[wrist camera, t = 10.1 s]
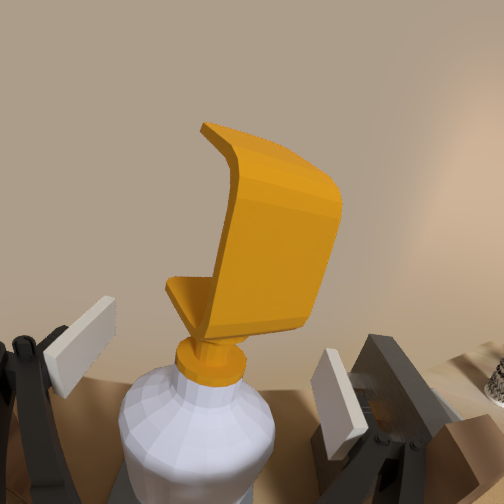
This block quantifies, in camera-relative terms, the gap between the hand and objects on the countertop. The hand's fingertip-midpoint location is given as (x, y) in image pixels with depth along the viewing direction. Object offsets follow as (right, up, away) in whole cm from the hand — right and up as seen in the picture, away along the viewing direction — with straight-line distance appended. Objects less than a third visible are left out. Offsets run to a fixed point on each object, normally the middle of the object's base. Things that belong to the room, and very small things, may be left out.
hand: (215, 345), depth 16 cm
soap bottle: (-3, -13, 0) cm, 14 cm away
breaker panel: (+9, -16, +3) cm, 19 cm away
